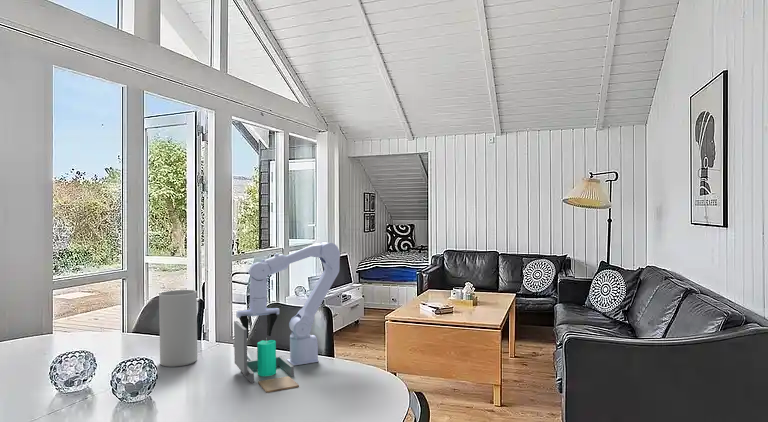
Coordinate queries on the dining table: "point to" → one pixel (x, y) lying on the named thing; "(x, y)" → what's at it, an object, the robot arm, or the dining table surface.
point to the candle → (266, 357)
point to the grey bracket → (242, 357)
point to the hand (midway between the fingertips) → (258, 336)
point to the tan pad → (278, 384)
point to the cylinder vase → (178, 327)
